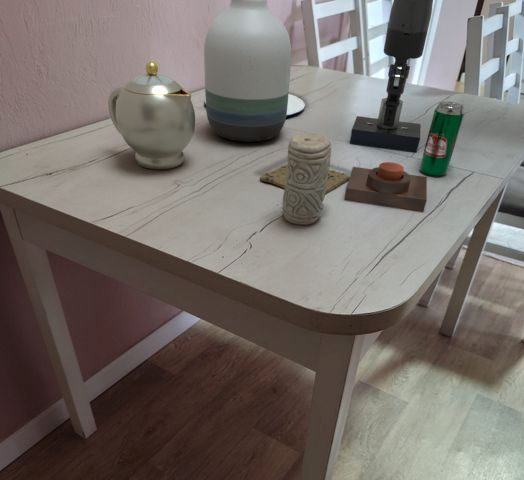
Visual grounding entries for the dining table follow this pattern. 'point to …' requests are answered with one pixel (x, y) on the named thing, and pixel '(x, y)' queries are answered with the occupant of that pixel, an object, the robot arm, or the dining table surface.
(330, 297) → the dining table surface
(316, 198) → the carving
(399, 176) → the release button
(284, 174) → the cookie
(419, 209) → the button console
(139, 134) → the teapot
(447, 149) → the soda can
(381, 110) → the dial
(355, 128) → the dial panel
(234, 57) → the vase
